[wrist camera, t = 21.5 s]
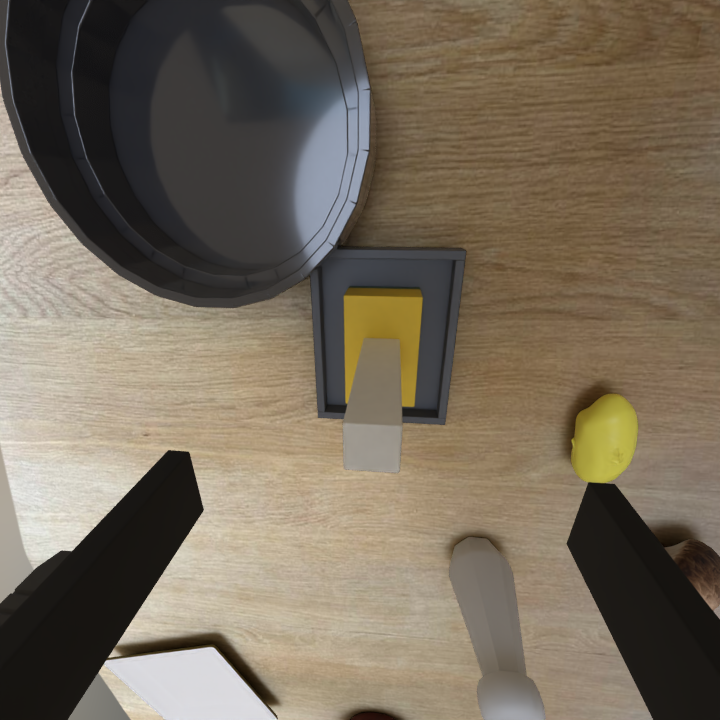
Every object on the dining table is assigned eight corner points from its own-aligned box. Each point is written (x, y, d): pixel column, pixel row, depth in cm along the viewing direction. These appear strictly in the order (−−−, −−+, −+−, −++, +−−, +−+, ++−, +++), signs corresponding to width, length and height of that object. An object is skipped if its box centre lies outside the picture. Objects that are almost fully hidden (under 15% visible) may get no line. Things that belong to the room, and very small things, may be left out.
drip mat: (313, 246, 24) (308, 248, 23) (461, 247, 23) (466, 250, 22) (321, 407, 29) (317, 418, 28) (442, 413, 29) (445, 425, 27)
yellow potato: (550, 462, 30) (572, 497, 26) (578, 380, 26) (607, 407, 23) (601, 467, 29) (630, 503, 26) (636, 384, 26) (674, 412, 22)
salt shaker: (511, 564, 35) (570, 746, 23) (456, 574, 36) (485, 751, 24) (495, 524, 33) (551, 702, 21) (438, 537, 34) (460, 710, 23)
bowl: (438, 142, 21) (453, 119, 15) (258, 334, 27) (224, 365, 22) (197, -162, 17) (102, -339, 11) (51, 147, 23) (-55, 128, 18)
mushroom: (599, 574, 30) (687, 650, 25) (657, 503, 30) (756, 566, 25) (606, 579, 35) (680, 642, 31) (655, 519, 35) (736, 572, 31)
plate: (220, 630, 45) (212, 649, 43) (282, 704, 51) (278, 723, 49) (111, 645, 49) (100, 663, 47) (181, 712, 56) (174, 729, 54)
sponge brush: (349, 285, 24) (306, 357, 13) (419, 287, 24) (443, 363, 12) (350, 384, 28) (316, 515, 16) (412, 387, 27) (425, 524, 15)
